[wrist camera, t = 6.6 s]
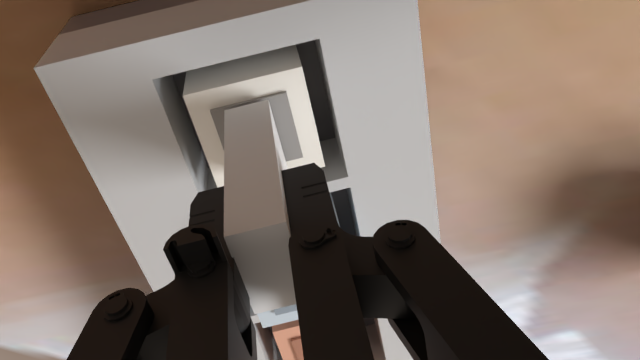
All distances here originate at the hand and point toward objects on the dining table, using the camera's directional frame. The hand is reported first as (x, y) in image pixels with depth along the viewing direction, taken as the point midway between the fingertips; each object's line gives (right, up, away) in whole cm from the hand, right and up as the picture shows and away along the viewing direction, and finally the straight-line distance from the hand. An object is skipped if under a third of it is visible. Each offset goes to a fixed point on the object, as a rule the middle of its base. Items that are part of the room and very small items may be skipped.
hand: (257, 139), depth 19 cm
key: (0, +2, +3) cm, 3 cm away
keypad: (0, -2, +8) cm, 8 cm away
